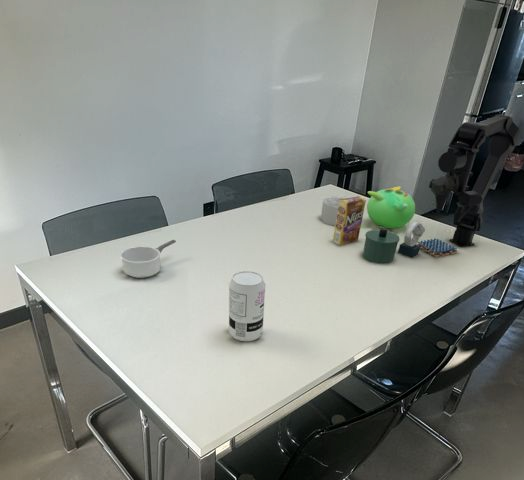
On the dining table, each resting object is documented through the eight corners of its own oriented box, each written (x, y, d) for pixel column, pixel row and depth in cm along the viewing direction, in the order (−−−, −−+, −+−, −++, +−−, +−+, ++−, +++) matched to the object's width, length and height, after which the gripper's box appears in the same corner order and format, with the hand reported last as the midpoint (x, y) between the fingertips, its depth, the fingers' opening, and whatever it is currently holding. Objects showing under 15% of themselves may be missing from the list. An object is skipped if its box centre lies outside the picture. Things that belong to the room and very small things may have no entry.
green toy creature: (415, 225, 181) (425, 187, 173) (401, 238, 169) (411, 198, 161) (372, 215, 189) (379, 178, 180) (356, 226, 177) (363, 188, 168)
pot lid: (386, 231, 156) (388, 221, 154) (405, 244, 148) (408, 233, 146) (358, 234, 153) (360, 224, 150) (376, 247, 144) (378, 236, 142)
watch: (421, 253, 159) (429, 222, 152) (409, 259, 154) (417, 227, 147) (406, 248, 162) (414, 217, 155) (394, 254, 157) (402, 223, 150)
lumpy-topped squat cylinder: (343, 228, 175) (347, 205, 170) (315, 220, 181) (317, 197, 176) (356, 221, 181) (360, 199, 176) (328, 213, 188) (331, 192, 183)
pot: (382, 250, 159) (386, 230, 155) (399, 262, 152) (404, 241, 148) (357, 253, 156) (360, 233, 152) (373, 265, 148) (377, 245, 144)
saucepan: (189, 261, 144) (188, 244, 141) (141, 284, 130) (139, 266, 127) (162, 251, 149) (161, 235, 146) (113, 272, 135) (111, 254, 132)
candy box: (340, 246, 160) (347, 202, 151) (332, 241, 163) (338, 198, 154) (358, 241, 165) (366, 199, 156) (350, 237, 167) (357, 195, 159)
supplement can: (228, 324, 115) (228, 270, 106) (261, 324, 116) (264, 270, 107) (229, 343, 108) (229, 286, 100) (263, 342, 109) (267, 286, 101)
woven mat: (436, 258, 156) (437, 252, 155) (414, 246, 163) (415, 241, 162) (458, 253, 160) (459, 248, 159) (435, 242, 167) (437, 237, 166)
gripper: (421, 161, 147) (410, 209, 156) (461, 177, 133) (446, 229, 142) (449, 160, 150) (436, 207, 159) (491, 175, 136) (474, 226, 145)
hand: (447, 217), depth 151 cm, fingers open, 9 cm apart
